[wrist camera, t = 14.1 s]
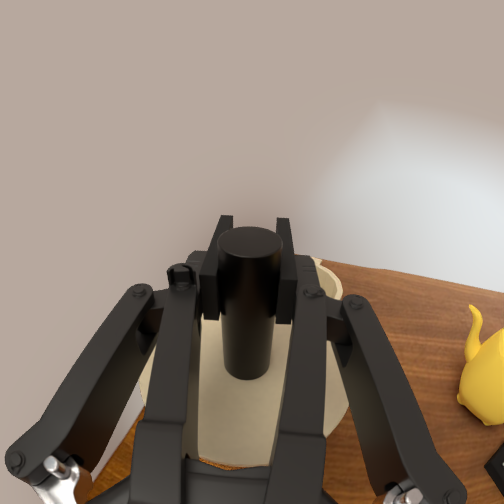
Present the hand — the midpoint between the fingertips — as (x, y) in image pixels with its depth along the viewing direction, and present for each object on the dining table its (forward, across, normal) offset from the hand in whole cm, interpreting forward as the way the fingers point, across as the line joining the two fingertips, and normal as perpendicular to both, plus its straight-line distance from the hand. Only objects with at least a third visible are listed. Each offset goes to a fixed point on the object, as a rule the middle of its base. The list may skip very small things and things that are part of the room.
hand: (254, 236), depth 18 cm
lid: (-5, 0, -6) cm, 8 cm away
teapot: (-1, +36, -24) cm, 43 cm away
